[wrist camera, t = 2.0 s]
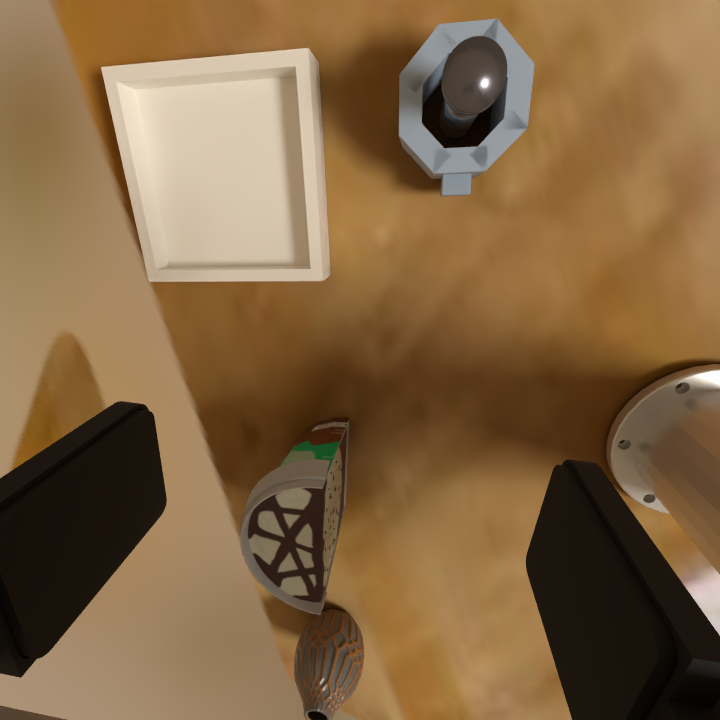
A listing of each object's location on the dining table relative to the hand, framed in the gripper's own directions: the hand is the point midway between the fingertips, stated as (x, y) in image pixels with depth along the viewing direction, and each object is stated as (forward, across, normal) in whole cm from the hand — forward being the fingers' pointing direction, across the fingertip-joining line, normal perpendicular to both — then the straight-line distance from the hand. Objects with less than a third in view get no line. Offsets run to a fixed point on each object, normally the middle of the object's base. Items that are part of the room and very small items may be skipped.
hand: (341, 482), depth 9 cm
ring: (+21, -3, -11) cm, 24 cm away
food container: (+21, +6, +16) cm, 27 cm away
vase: (+21, +2, +36) cm, 42 cm away
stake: (+21, -3, -11) cm, 24 cm away
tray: (+21, +12, -7) cm, 25 cm away
